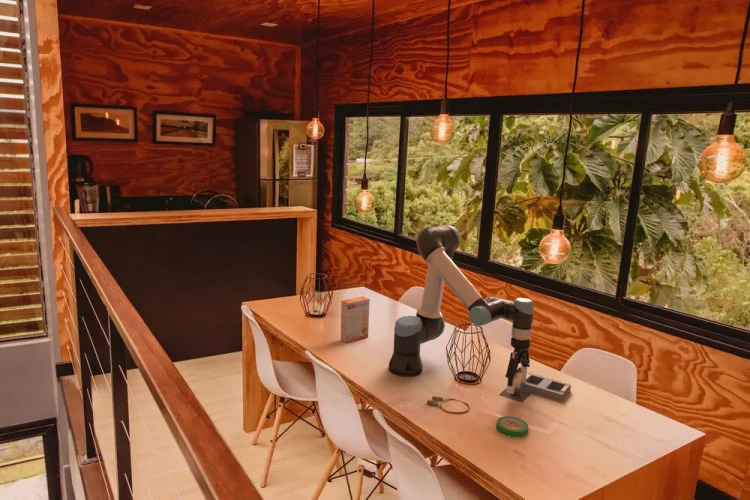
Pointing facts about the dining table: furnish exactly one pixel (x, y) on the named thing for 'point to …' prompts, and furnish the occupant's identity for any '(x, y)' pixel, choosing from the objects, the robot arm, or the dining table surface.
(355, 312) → the cracker box
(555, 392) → the socket block
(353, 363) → the dining table surface
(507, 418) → the tape roll
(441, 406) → the looped connector cable
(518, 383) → the plug
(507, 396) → the plate
